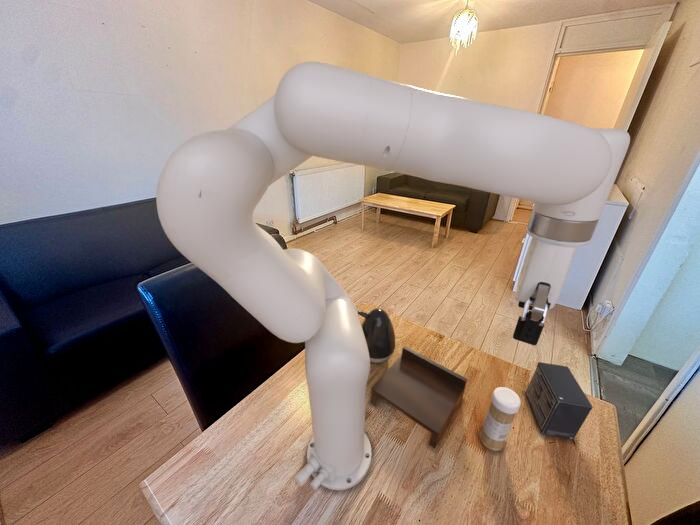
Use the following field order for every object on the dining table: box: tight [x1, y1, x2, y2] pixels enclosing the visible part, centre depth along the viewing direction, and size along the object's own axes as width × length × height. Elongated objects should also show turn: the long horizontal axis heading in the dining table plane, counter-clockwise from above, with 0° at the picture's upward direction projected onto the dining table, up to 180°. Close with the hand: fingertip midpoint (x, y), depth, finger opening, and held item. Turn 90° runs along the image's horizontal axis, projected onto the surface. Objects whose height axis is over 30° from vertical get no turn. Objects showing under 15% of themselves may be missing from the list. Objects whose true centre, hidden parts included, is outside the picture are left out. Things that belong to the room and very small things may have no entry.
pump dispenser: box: [357, 308, 396, 364], centre depth 76 cm, size 10×10×15 cm
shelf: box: [370, 345, 468, 450], centre depth 64 cm, size 14×16×8 cm
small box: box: [524, 361, 594, 441], centre depth 61 cm, size 11×6×10 cm, turn 168°
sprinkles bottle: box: [479, 386, 522, 452], centre depth 55 cm, size 5×5×14 cm
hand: (526, 323), depth 47 cm, fingers open, 9 cm apart
